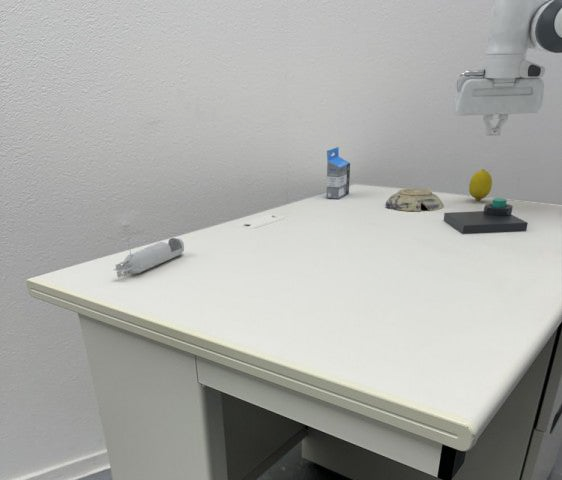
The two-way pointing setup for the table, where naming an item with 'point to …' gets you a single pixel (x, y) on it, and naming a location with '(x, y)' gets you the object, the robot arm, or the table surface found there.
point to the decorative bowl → (414, 200)
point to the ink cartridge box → (337, 175)
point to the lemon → (480, 184)
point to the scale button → (499, 203)
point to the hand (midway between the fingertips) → (492, 135)
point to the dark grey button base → (486, 220)
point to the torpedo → (150, 257)
